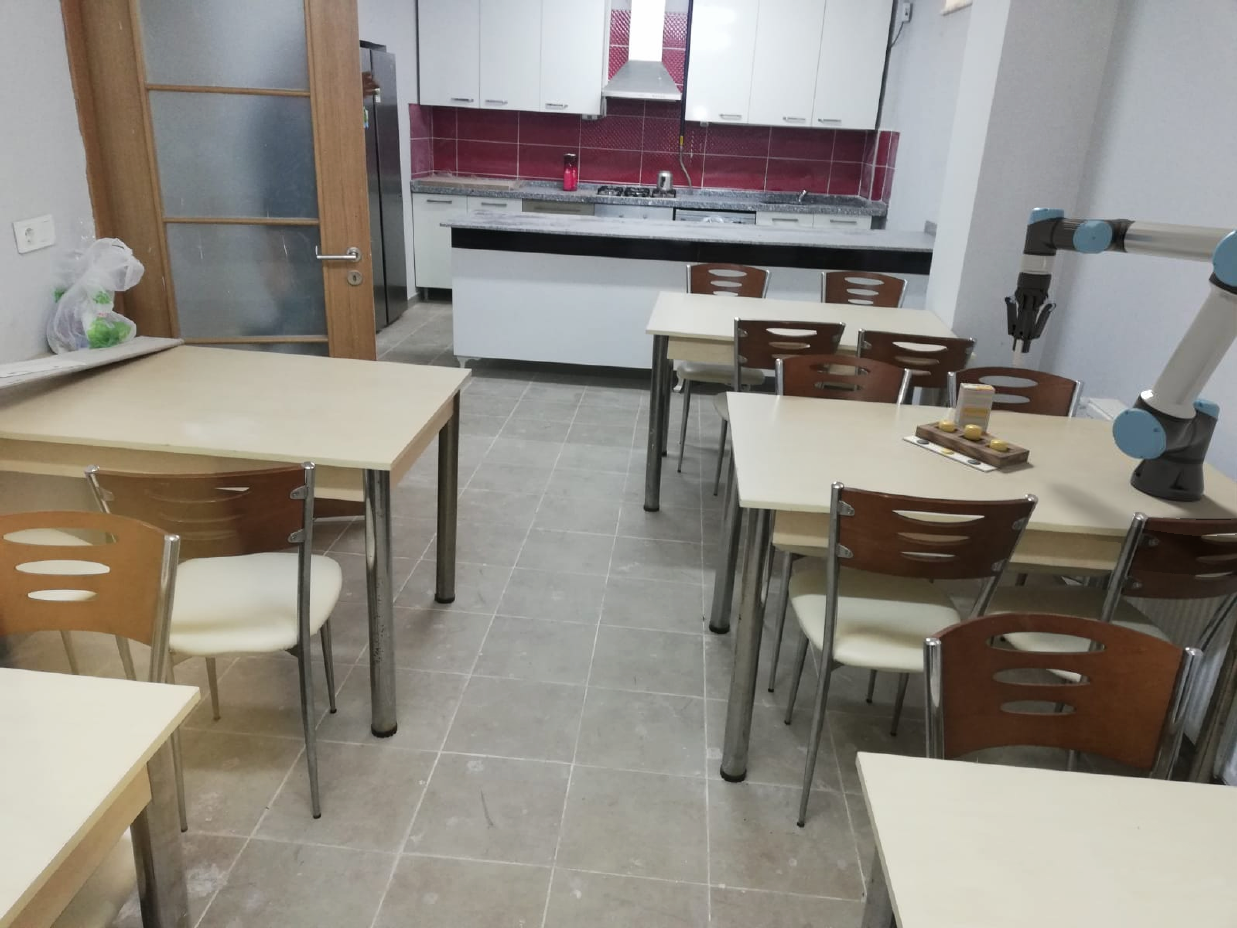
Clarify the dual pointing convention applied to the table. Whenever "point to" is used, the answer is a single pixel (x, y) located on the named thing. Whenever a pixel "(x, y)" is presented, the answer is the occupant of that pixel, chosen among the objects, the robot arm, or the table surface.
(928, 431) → the board
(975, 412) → the supplement box
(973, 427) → the button mid
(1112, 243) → the robot arm
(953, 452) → the card
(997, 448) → the button
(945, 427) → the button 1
